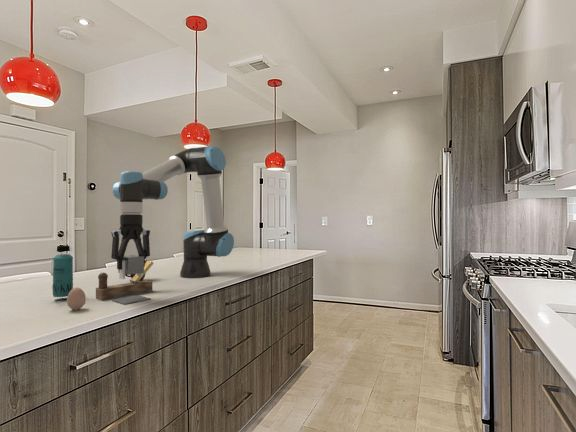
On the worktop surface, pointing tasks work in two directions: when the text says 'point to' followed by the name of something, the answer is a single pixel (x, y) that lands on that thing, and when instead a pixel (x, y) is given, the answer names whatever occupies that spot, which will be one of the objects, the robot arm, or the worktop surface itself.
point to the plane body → (120, 288)
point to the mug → (135, 274)
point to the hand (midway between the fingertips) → (131, 277)
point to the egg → (76, 298)
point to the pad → (131, 299)
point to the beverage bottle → (62, 273)
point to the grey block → (133, 264)
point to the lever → (146, 268)
